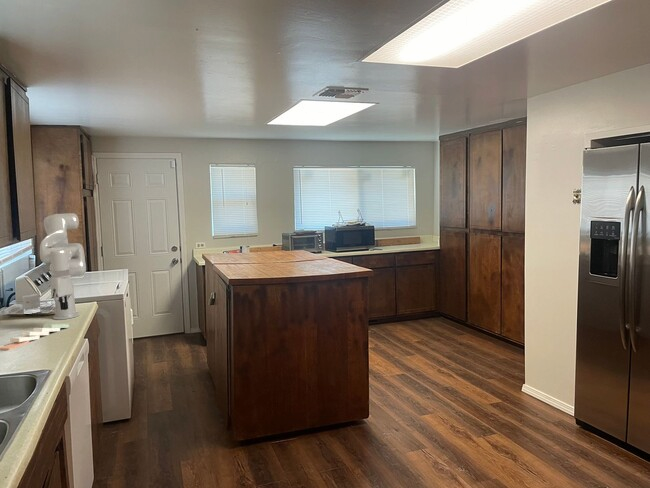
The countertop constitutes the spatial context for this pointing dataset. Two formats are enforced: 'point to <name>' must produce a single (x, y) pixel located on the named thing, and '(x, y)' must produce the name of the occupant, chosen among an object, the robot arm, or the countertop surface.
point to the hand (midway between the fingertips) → (64, 309)
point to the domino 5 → (55, 325)
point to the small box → (30, 301)
